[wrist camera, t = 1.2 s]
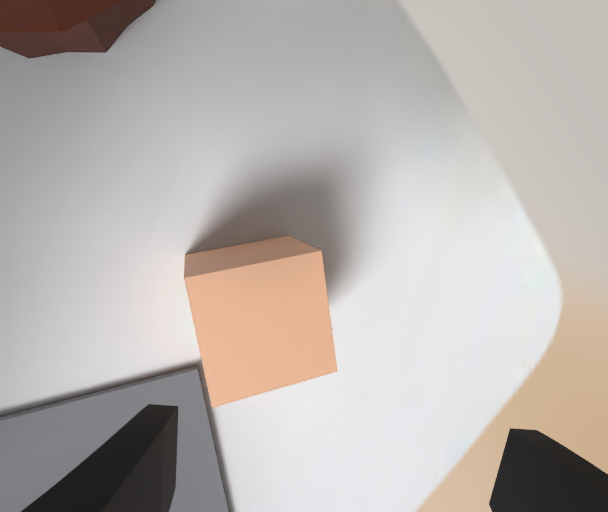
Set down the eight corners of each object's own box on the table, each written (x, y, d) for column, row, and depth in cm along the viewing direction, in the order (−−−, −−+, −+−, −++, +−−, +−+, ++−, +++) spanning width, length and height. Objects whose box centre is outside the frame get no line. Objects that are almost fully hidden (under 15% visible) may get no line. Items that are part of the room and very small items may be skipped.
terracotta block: (205, 352, 19) (212, 407, 14) (184, 254, 18) (184, 278, 13) (302, 328, 20) (337, 371, 15) (288, 235, 19) (321, 250, 14)
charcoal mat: (24, 611, 18) (21, 620, 18) (-45, 428, 16) (-51, 434, 16) (233, 532, 21) (234, 538, 20) (197, 365, 19) (197, 369, 18)
